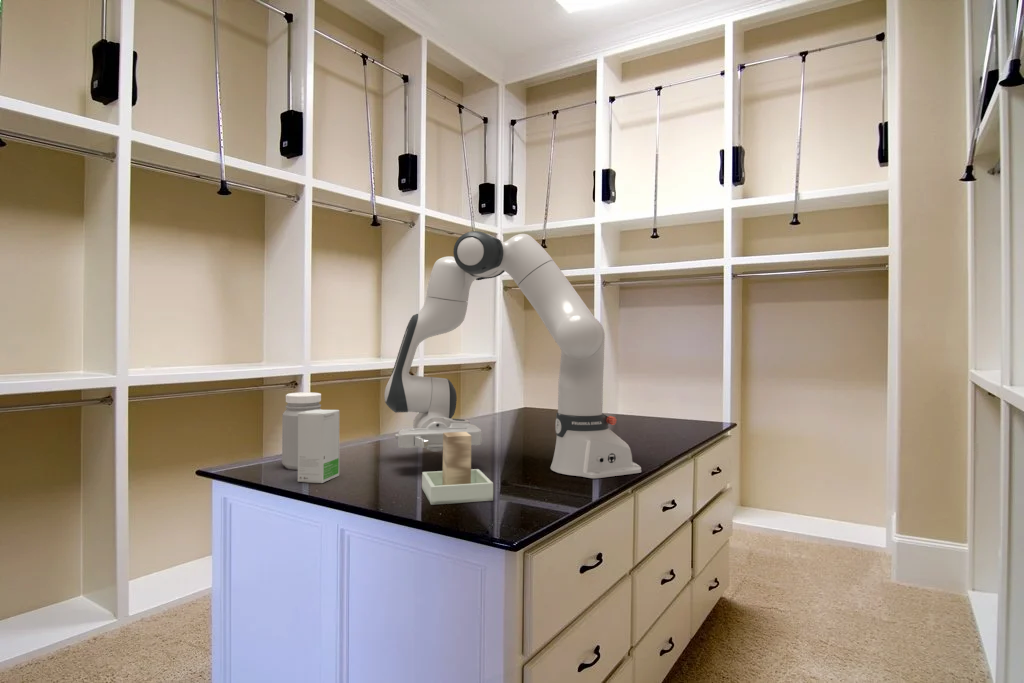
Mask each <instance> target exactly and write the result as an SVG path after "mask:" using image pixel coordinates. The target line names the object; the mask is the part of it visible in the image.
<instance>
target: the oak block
mask: <svg viewBox="0 0 1024 683" xmlns="http://www.w3.org/2000/svg"><path fill="white" fill-rule="evenodd" d="M471 469H472V445H471V435H470V434H468V433H467V432H446V433H443V450H442V471H443V482H442V485H456V484H471Z"/></svg>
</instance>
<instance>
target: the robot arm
mask: <svg viewBox="0 0 1024 683" xmlns="http://www.w3.org/2000/svg"><path fill="white" fill-rule="evenodd" d="M505 272H506V273H507V274H508V275H509V276H510V277H511V279H513V281H514V283H515V284H516V286H517V287H518V288H519V289H520V291H521V293H522V294H523V295H524V297H525V298H526V299H527V300H528V302H529V304H531V307H532V308H533V309H534V311H535V312H536V314H537V315H538V318H540V320H541V321H542V322H543V324H544V326H545V328H546V329H547V331H548V332H549V334H550V336H551V337H552V339H553V340H554V342H555V343H556V345H557V346H558V347H559V349H560V362H559V363H560V364H559V375H558V385H557V386H558V388H557V390H558V392H557V394H558V395H557V396H558V397H557V412H556V413H555V416H556V417H555V435H556V441H555V447H554V448H555V449H554V453H553V458H552V462H551V465H550V467H549V468H550V470H551V471H553V472H555V473H557V474H562V475H567V476H576V477H583V478H588V479H601V478H610V477H615V476H616V477H617V476H624V475H633V474H639V473H642V467H641V466H640V465H639V464H637V463H636V462H634V461H633V454H632V450H631V447H630V446H629V444H628V443H627V442H626V441H625V440H623V439H622V438H621V437H620V436H618V435H617V434H616V433H615V432H613V431H612V430H611V429H610V426H609V425H612V426H614V425H616V424H617V421H618V420H617V418H616V416H612V415H606V414H604V413H603V406H604V405H603V401H604V400H603V398H604V396H603V394H604V391H603V390H604V388H603V386H604V384H603V383H604V366H605V364H604V363H605V361H604V360H605V341H606V340H605V338H606V337H605V335H606V334H605V330H604V327H603V325H602V323H601V322H600V320H598V319H597V318H596V317H595V316H594V315H593V313H592V312H591V310H590V309H589V308H588V306H587V304H586V303H585V302H584V300H583V299H582V297H581V296H580V295H579V293H578V292H577V291H576V289H575V288H574V286H573V285H572V284H571V282H570V281H569V279H568V278H567V277H566V276H565V274H564V273H563V272H562V270H561V269H560V267H559V266H558V264H557V263H556V262H555V261H554V259H553V258H552V257H551V255H550V254H549V253H548V252H547V251H546V249H545V248H544V247H543V246H542V245H541V244H540V243H539V242H538V241H537V240H536V239H535V238H534V237H532V235H529V234H527V233H519V234H515V235H513V236H512V237H510V238H508V239H507V240H506V241H502V240H501V239H500V238H497V237H495V236H494V235H491V234H489V233H485V232H483V231H479V230H474V231H468V232H467V231H466V232H465V233H463V234H461V236H459V237H458V239H457V240H456V241H455V243H454V245H453V256H451V255H450V256H448V255H447V256H443V257H441V258H440V257H439V259H437V260H436V261H435V262H434V263H433V266H432V269H431V272H430V275H429V281H428V283H427V289H426V294H425V295H426V297H425V302H424V304H423V306H422V308H421V309H420V311H419V312H418V313H416V314H413V315H412V316H411V317H410V320H409V322H408V323H407V326H406V328H405V331H404V334H403V337H402V340H401V343H400V347H399V349H398V350H399V351H398V353H397V356H396V360H395V362H394V366H393V368H392V371H391V375H390V378H389V379H388V382H387V384H386V386H385V388H384V403H385V404H386V406H387V407H388V408H389V409H390V410H392V412H394V413H417V414H416V415H415V417H414V419H413V422H412V428H403V429H399V431H398V433H395V434H394V437H395V439H396V440H398V448H400V449H417V448H418V449H420V448H422V449H424V448H425V449H426V450H427V451H430V452H433V453H436V452H437V453H438V452H443V433H446V432H467V433H468V434H470V435H471V446H481V445H482V443H483V432H482V431H483V430H482V429H481V428H480V427H478V426H477V425H475V424H473V423H470V420H468V419H459V418H453V417H454V415H455V412H456V409H457V391H456V388H455V386H454V384H453V383H452V382H451V381H450V379H449V378H444V377H436V376H419V375H413V374H410V371H411V367H412V365H413V364H412V363H413V361H414V357H415V355H416V352H417V348H418V346H419V345H420V344H421V343H422V342H423V341H425V340H427V339H428V338H432V337H435V336H439V335H442V334H447V333H449V332H452V331H454V330H456V329H457V328H458V327H460V326H461V325H462V324H463V322H464V321H465V319H466V313H467V310H468V306H469V305H468V304H469V296H470V290H471V286H472V284H473V282H475V280H476V281H481V280H487V279H493V278H496V277H499V276H501V275H502V274H504V273H505Z"/></svg>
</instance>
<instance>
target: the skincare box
mask: <svg viewBox="0 0 1024 683" xmlns="http://www.w3.org/2000/svg"><path fill="white" fill-rule="evenodd" d="M339 476H340V410H339V409H322V410H310V411H304V412H299V413H298V470H297V482H298V483H308V484H323V483H325V482H327V481H329V480H330V481H331V480H333V479H334V478H337V477H339Z"/></svg>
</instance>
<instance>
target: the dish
mask: <svg viewBox="0 0 1024 683" xmlns="http://www.w3.org/2000/svg"><path fill="white" fill-rule="evenodd" d="M421 473H422V474H421V489H422V491H423V493H424V494H425V496H426V498H427V500H428V502H429V504H430V505H432V506H434V505H446V504H447V505H449V504H450V505H451V504H462V503H463V504H464V503H475V502H477V503H478V502H491V501H494V482H493V481H492V480H490V478H488V477H487V475H485V473H484V472H482V470H480V469H479V468H474V469H473V468H471V484H456V485H442V482H443V470H437V471H435V470H434V471H422V472H421Z"/></svg>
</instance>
